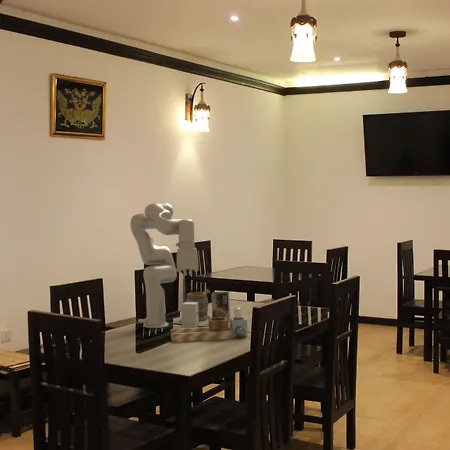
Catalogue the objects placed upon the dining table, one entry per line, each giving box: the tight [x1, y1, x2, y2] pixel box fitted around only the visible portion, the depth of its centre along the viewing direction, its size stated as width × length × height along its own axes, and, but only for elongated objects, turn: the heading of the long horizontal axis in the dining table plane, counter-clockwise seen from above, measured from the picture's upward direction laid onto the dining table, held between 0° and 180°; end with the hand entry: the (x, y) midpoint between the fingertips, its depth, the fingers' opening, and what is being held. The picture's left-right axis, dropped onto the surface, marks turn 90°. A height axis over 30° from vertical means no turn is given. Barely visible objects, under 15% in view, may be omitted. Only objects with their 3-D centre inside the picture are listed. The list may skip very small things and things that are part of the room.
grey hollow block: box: [229, 316, 248, 339], centre depth 329 cm, size 7×10×8 cm
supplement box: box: [180, 301, 200, 329], centre depth 355 cm, size 7×7×13 cm
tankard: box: [185, 288, 211, 322], centre depth 382 cm, size 20×13×15 cm, turn 148°
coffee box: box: [210, 291, 231, 324], centre depth 366 cm, size 9×6×16 cm
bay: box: [170, 323, 234, 343], centre depth 328 cm, size 28×13×5 cm, turn 97°
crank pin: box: [233, 307, 242, 320], centre depth 330 cm, size 3×3×8 cm
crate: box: [208, 317, 228, 332], centre depth 329 cm, size 8×9×7 cm
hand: (188, 283), depth 333 cm, fingers closed
